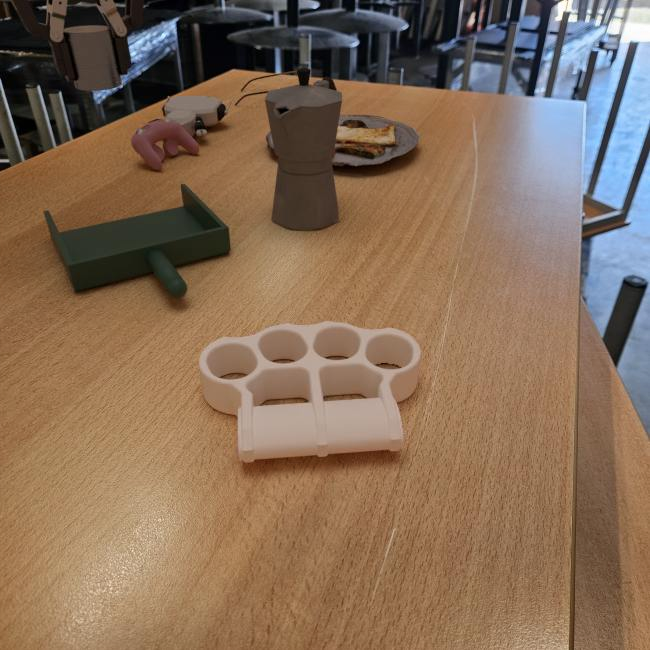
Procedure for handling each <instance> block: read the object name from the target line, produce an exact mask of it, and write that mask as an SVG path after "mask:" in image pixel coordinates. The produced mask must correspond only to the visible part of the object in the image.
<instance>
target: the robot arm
mask: <svg viewBox="0 0 650 650" xmlns="http://www.w3.org/2000/svg"><path fill="white" fill-rule="evenodd" d="M10 3H11V4H12V6H13V7H14V10H15V12H16V13H17V16H18V18H19V19H20V21H21V23H22V25H23V27H24V29H25V30H26V31H27V33H29V34H30V35H31V36H32V37H34V38H41V39H44V40H47V41H48V43H49V46H50V49H51V54H52V57H53V62H54V65H55V69H56V71H57V72H58V74H59V75H60V76H61V77H64V78H65V80H66V81H67V82H74V81H76V79H75V74H74V70H73V66H72V62H71V57H70V53H69V49H68V45H67V42H65V41H64V38H63V32H64V29H65V20H66V18H67V10H68V6H76V5H78V4H81V3H86V4H89V5H93V4H94V5H95V6H96V8H97V10H98V12H100V14H101V15H102V17H103V19H104V21H105V23H106V26H107V27H110V28H111V30H112V35H113V41H114V46H115V51H116V56H117V61H118V66H119V71H120V76H127V75H128V73H129V72H128V70H129V69H132V58H131V51H130V46H129V41H128V36H129V33H130V32H132V31H134V30H136V29H140V28H142V26H143V24H144V8H145V0H125V4H124V7H125V8H124V16H122V17H121V14H120V13H119V10H118V7H117V6H116V3H115V1H114V0H46V21H45V23H43V22H39V20H38V18H37V16H36V14H35V12H34V11H33V8H32V6H31V5H30V3H29V1H28V0H10Z"/></svg>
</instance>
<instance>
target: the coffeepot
mask: <svg viewBox="0 0 650 650" xmlns="http://www.w3.org/2000/svg"><path fill="white" fill-rule="evenodd" d="M296 70H297V72H296V74H297V80H298V84H295V85H290V86H285V87H282V88H281V87H280V88H277V89H272V91H271V90H267V91H268V92H267V93H266V95H265V98H264V103H265V108H266V109H265V110H266V113H267V119H268V124H269V129H270V130H269V131H271V135H272V141H273V146H274V149H273V152H274V155H275V156H277V169H276V177H275V186H274V194H273V202H272V203H273V204H272V211H271V220H272V221H273V222H275V223H276V224H277V225H279V226H280V227H282V228H285V229H289V230H293V231H302V232H303V231H305V232H306V231H316V230H321V229H325V228H328V227H330V226H332V225H334V224H335V223H336V222H338V221H339V219H340V217H339V216H340V215H339V203H338V196H337V195H338V194H337V189H336V182H335V175H334V168H333V165H332V156H333V155H334V149H335V142H336V136H337V130H338V123H339V117H340V115H341V109H342V104H343V92H342V91H338V90H337V86H336V85H335V82H334V79H333V78H332V77H330V76H325V77H323V78H322V79H318V80H316V81H314V82H313V84H309V83H310V77H311V72H312V71H311V68H308V67H305V66H303V67H300V68H297V69H296Z"/></svg>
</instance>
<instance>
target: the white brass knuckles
mask: <svg viewBox="0 0 650 650" xmlns="http://www.w3.org/2000/svg"><path fill="white" fill-rule="evenodd" d="M330 357H344V359H329V358H330ZM276 360H290V361H292V362H287V363H285V362H284V363H280V362H274V361H276ZM421 360H422V350H421V347H420V345H419V343H418V342H417V340H416V339H415V338H414V337H412V336H411V335H410V334H408V333H407V332H405V331H402V330H400V329H397V328H394V327H390V326H389V327H385V328H378V329H376V328H375V329H374V328H373V329H371V328H362V327H358V326H355V325H352V324H351V323H349V322H342V321H331V320H324V321H322V322H318V323H313V324H294V323H290V322H285V323H281V324H276V325H271V326H267V327H265V328H264V329H262V330H261V331H259V332H256V333H253V334H250V335H246V336H237V337H236V336H235V337H233V336H232V337H231V336H223V337H220V338H218V339H215V340H213V341H212V342H211V343H209V344H208V345H207V346H206V347H204V349H203V350H202V352H201V353H200V356H199V358H198V372H199V378H200V384H201V390H202V395H203V398H204V400H205V401H206V403H207V404H208V405H209V406H210V407H211V408H212V409H214V410H216V411H218V412H220V413H223V414H227V415H234V416H236V417H237V452H238V453H237V454H238V460H239V461H240V462H241V461H243V463H245V464H246V463H254V462H255V460H268V459H283V458H296V457H297V458H298V457H309V456H317V457H319V458H322V457H328V455H335V454H348V453H349V454H350V453H363V452H375V451H387V450H388V451H390V452H399V451H400V450H401V449H403V448H404V441H405V440H404V428H403V423H402V417H401V413H400V409H399V406H398V403H400V402H403V401H404V400H407V399H408V398H409V397H411V396H412V395H413V394H414V392H415V391H416V389H417V387H418V381H419V374H420V368H421ZM381 363H388V364H387V365H392V364H395V365H394V366H396V365H398V366H399V368H392V369H391V368H383V367H379V366H378V365H382V364H381ZM377 364H378V365H377ZM398 366H397V367H398ZM400 367H401V368H400ZM230 374H243V375H245V376H243V377H240V378H234V379H226V378H221V377H224V376H226V375H230ZM345 395H361V396H363V397H365V398H355V399H354V398H353V399H352V398H351V399H340V400H339V399H337V400H325V401H324V398H325V397H327V396H328V397H329V396H345ZM297 398H301V399H304V400H306V401H307V402H297V403H281V404H267V405H263V403H264V402H266V401H269V400H282V399H297ZM239 461H238V462H239Z"/></svg>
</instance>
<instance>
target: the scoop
mask: <svg viewBox="0 0 650 650" xmlns="http://www.w3.org/2000/svg"><path fill="white" fill-rule="evenodd" d="M180 191H181V192H180V193H181V198H182V199H181V200H182V205H181V206H177V207H172V208H167V209H162V210H158V211H154V212H149V213H145V214H140V215H134V216H130V217H125V218H121V219H116V220H112V221H107V222H106V221H105V222H101V223H96V224H92V225H88V226H83V227H78V228H72V229H68V230H64V231H59V230H58V227H57V224H56V223H55V221H54V219H53V217H52V215H51V212H50V210H48V209H47V210H44V211H43V212H42V213H43V216H44V218H45V222H46V225H47V228H48V232H49V235H50V238H51V241H52V243H53V245H54V247H55V250H56V252H57V255H58V256H59V259H60V261H61V263H62V266H63V269H64V270H65V272H66V275H67V277H68V279H69V282H70V284H71V286H72V289H73V291H74V292H75V293H78V292H81V291H84V290H89V289H93V288H96V287H100V286H101V287H102V286H105V285H108V284H112V283H117V282H120V281H124V280H129V279H131V278H135V277H140V276H144V275H147V274H151V273H154V275H155V276H156V278H157V280H158V281H159V282H160V284H161V286H162V287H163V288H164V290H165V291H166V293H167V294H168V295H169V296H170V297H171V298H172V299H181V298H184V296H185V295H187V291H188V284H187V283H186V281H185V280H184V279H183V277H182V275H181V274H180V273H179V272H178V271H177V269H176V268H175V267H178V266H183V265H187V264H190V263H194V262H198V261H202V260H207V259H210V258H214V257H217V256H222V255H226V254H229V253H230V252H232V249H231V248H232V247H231V238H230V237H231V236H230V229H229V226H228V225H227V224H226V223H225V222H224V221H223V220H222V219H221V218H220V217H219V216H218V215H217V214H216V213H215V212H214V211H213V210H212V209H211V208H210V207H209V206H208V205H207V204H206V203H205V202H204V201H203V200H202V199H201V198H200V197H199V196H198V195H197V194H196V193H195V192H194V191H193V190H192V189H191V188H190V187H189V186H188V185H187V184H185V183H180Z"/></svg>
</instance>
